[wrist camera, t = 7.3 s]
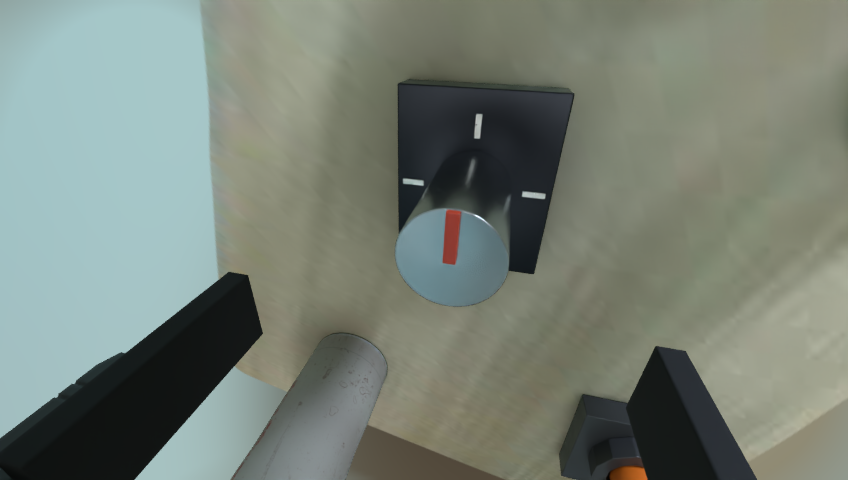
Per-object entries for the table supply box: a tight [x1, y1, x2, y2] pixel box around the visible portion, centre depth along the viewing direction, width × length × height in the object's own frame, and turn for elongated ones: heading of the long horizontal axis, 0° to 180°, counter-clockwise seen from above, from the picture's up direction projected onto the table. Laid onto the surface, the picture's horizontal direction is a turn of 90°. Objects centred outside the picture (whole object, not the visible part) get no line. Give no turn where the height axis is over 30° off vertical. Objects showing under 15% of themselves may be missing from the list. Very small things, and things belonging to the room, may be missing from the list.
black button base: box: [559, 395, 644, 480], centre depth 33 cm, size 10×10×4 cm
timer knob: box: [395, 150, 511, 307], centre depth 19 cm, size 5×5×9 cm
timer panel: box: [398, 79, 574, 274], centre depth 24 cm, size 12×10×3 cm
